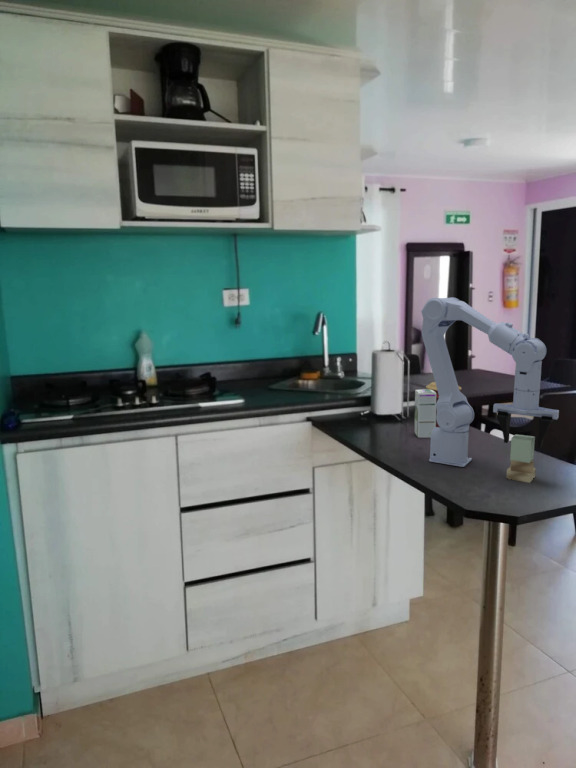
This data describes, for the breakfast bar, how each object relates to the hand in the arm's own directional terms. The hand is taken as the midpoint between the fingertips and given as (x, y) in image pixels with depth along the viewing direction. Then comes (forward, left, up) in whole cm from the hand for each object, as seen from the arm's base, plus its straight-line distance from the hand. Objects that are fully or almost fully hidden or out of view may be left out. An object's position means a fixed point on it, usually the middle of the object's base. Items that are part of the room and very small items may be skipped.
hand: (522, 444), depth 137 cm
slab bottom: (0, 0, -9) cm, 9 cm away
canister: (-32, +37, -9) cm, 50 cm away
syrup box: (-34, +26, -9) cm, 44 cm away
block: (0, 0, -4) cm, 4 cm away
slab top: (0, 0, -6) cm, 6 cm away
